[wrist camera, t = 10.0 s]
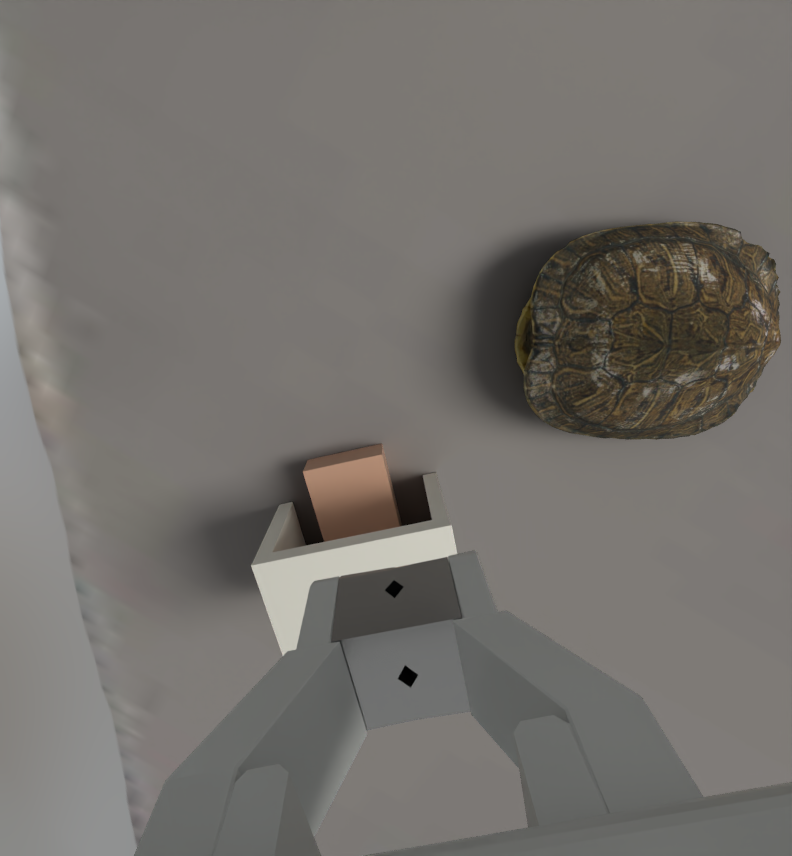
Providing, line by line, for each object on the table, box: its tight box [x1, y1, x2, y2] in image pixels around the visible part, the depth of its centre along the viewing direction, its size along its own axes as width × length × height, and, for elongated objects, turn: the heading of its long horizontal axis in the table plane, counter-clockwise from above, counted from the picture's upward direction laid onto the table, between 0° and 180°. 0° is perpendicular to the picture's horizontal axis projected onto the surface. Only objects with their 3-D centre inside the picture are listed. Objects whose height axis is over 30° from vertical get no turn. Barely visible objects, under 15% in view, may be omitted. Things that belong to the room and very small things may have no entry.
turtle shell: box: [515, 222, 781, 439], centre depth 34 cm, size 16×9×20 cm
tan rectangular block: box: [303, 444, 402, 542], centre depth 39 cm, size 9×6×3 cm
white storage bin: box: [251, 472, 457, 656], centre depth 37 cm, size 8×14×9 cm, turn 102°
